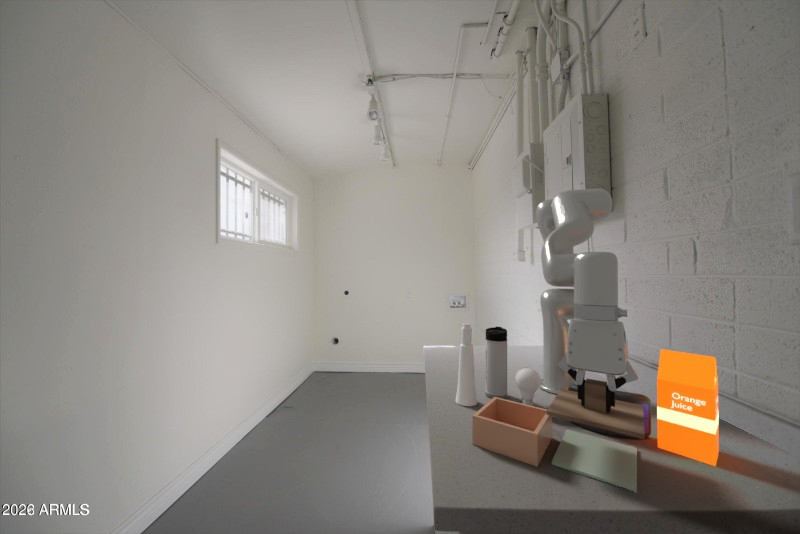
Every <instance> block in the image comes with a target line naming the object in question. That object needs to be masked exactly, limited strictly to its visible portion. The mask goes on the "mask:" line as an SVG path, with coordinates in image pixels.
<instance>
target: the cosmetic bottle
mask: <svg viewBox="0 0 800 534" xmlns="http://www.w3.org/2000/svg"><path fill="white" fill-rule="evenodd" d="M471 325H472V324H470V323H469V322H468V323H467V322H464V323H462V326H461V343H460V344H459V353H458V354H459V357H458V358H459V359H458V376H457V387H456V389H457V390H456V395H455V402H456V404H457V405H460V406H463V407H474V406H476V405H478V399H477V391H476V380H475V359H474V358H475V357H474V345H473V344H472V327H471Z"/></svg>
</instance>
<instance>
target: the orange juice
mask: <svg viewBox="0 0 800 534" xmlns="http://www.w3.org/2000/svg"><path fill="white" fill-rule="evenodd" d="M656 387H657V388H656V391H657V392H656V394H657V395H656V396H657V398H656V403H657V405H656V421H657V429H656V430H657V448H659V449H661V450H665V451H667V452H669V453H670V452H671V453H673V454H677V455H680V456H683V457H685V458H690V459H691V460H696V461H697V462H700V463H705V464H707V465H711V466H713V467H717V461H718V457H719V453H720V441H719V438H720V437H719V435H720V433H719V432H720V431H719V429H720V428H719V427H720V426H719V423H720V422H719V421H720V417H719V414H720V410H719V380H718V369H717V359H716V357H715V356H711V355H710V356H709V355H703V354H696V353H688V352H682V351H677V350H676V351H675V350H668V349H662V348H661V349H660V352H659V362H658V369H657V377H656Z"/></svg>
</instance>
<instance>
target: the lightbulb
mask: <svg viewBox="0 0 800 534" xmlns="http://www.w3.org/2000/svg"><path fill="white" fill-rule="evenodd" d="M541 380H542V379H541V377H540V375H539V373H538V372H537V371H536V370H535V369H534V368H531V367H528V366H527V367H521V368H519V369H518V370H517V371H516V373H515V377H514V381H515V383H516V386H517V388H518V390H519V391H520V395H521V397H522V398H521V399H522V404H526V405H530V406H534V398H535V396H536V395H535V394H536V392H537V391H538V389H539V388H540V387H539V386H540V383H541Z"/></svg>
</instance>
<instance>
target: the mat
mask: <svg viewBox="0 0 800 534" xmlns="http://www.w3.org/2000/svg"><path fill="white" fill-rule="evenodd" d="M551 465H552V466H555V467H558V468H561V469H565V470H567V471H570V472H573V473H577V474H579V475H582V476H584V477H587V476H588V478H590V477H592V479H593V478H595V479H594V480H596V479H597V481H599V480H601V481H600V482H602V481H604V482H603V483H605V482H608V483H611V484H614V485H617V486H620V487H624V488H627V489H630V490H632V491H635V492H637V493H638V448H637V447H635V446H630V445H627V444H624V443H619V442H616V441H613V440H609V439H606V438H605V439H604V438H601V437H598V436H594V435H590V434H587V433H584V432H579V431H576V430H571V429H566V430H565V432H564V434H563V436H562V439H561V441H560V443H559V445H558V447H557V449H556V452H555V454H554V456H553V457H552V460H551ZM608 483H607V484H608ZM611 484H610V485H611ZM614 485H613V486H614ZM617 486H616V487H617ZM620 487H619V488H620ZM632 491H631V492H632ZM635 492H634V493H635Z"/></svg>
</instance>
